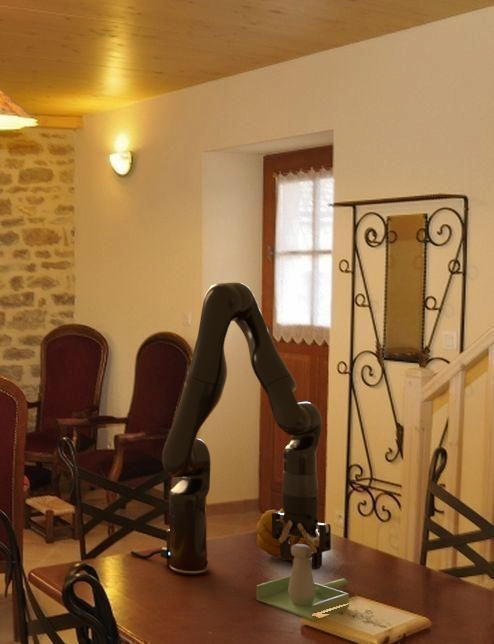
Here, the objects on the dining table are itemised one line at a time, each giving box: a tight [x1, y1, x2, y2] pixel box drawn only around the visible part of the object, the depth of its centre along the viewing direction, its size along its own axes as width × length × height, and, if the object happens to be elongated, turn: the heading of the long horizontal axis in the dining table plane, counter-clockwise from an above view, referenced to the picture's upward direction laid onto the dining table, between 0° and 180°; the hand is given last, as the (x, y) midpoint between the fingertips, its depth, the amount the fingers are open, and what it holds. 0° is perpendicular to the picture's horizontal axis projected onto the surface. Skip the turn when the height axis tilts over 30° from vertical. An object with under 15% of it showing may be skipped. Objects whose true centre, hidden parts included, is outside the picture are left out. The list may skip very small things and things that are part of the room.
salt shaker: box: [288, 544, 316, 606], centre depth 202 cm, size 6×6×13 cm
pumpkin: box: [256, 507, 313, 563], centre depth 235 cm, size 14×16×20 cm
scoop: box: [256, 574, 350, 622], centre depth 204 cm, size 22×15×3 cm, turn 122°
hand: (300, 563), depth 202 cm, fingers open, 7 cm apart
